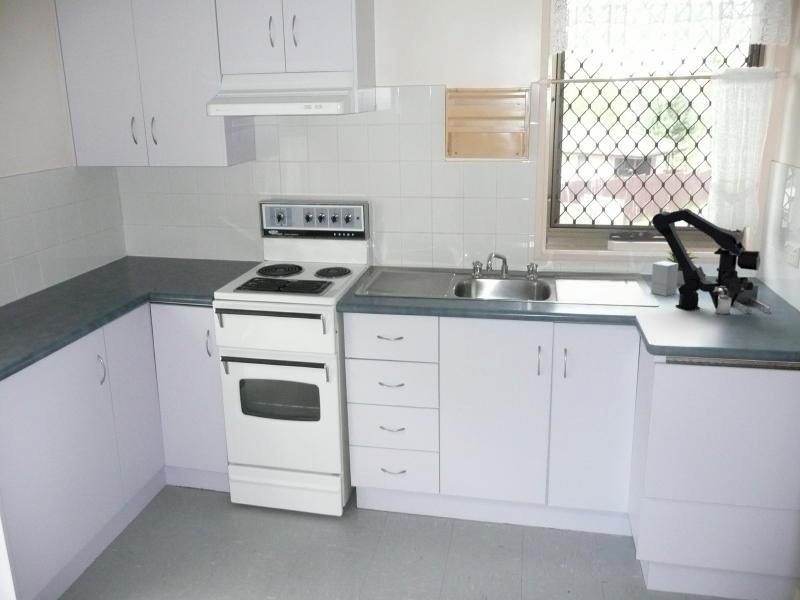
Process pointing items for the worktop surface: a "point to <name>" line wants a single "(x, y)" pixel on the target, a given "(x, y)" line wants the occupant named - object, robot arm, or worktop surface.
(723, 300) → the bottle
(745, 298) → the motor clip
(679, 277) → the house plant
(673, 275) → the supplement box
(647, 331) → the worktop surface
